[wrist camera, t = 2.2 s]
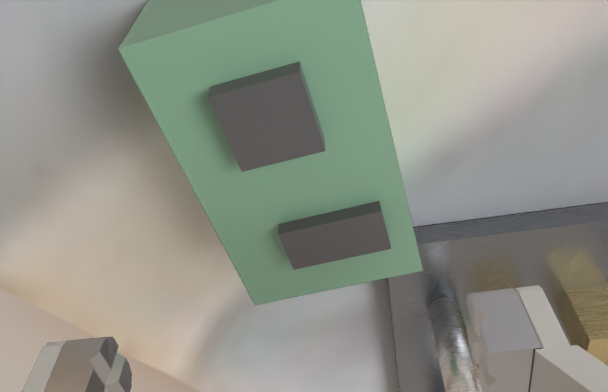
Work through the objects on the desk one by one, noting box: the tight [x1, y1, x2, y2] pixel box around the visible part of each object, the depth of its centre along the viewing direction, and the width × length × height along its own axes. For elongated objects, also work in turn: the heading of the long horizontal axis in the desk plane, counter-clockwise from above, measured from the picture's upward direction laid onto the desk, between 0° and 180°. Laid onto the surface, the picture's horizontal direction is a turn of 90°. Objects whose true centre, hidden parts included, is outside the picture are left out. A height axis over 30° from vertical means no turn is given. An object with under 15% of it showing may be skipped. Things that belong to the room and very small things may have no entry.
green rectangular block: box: [118, 0, 423, 305], centre depth 17 cm, size 10×6×5 cm, turn 17°
